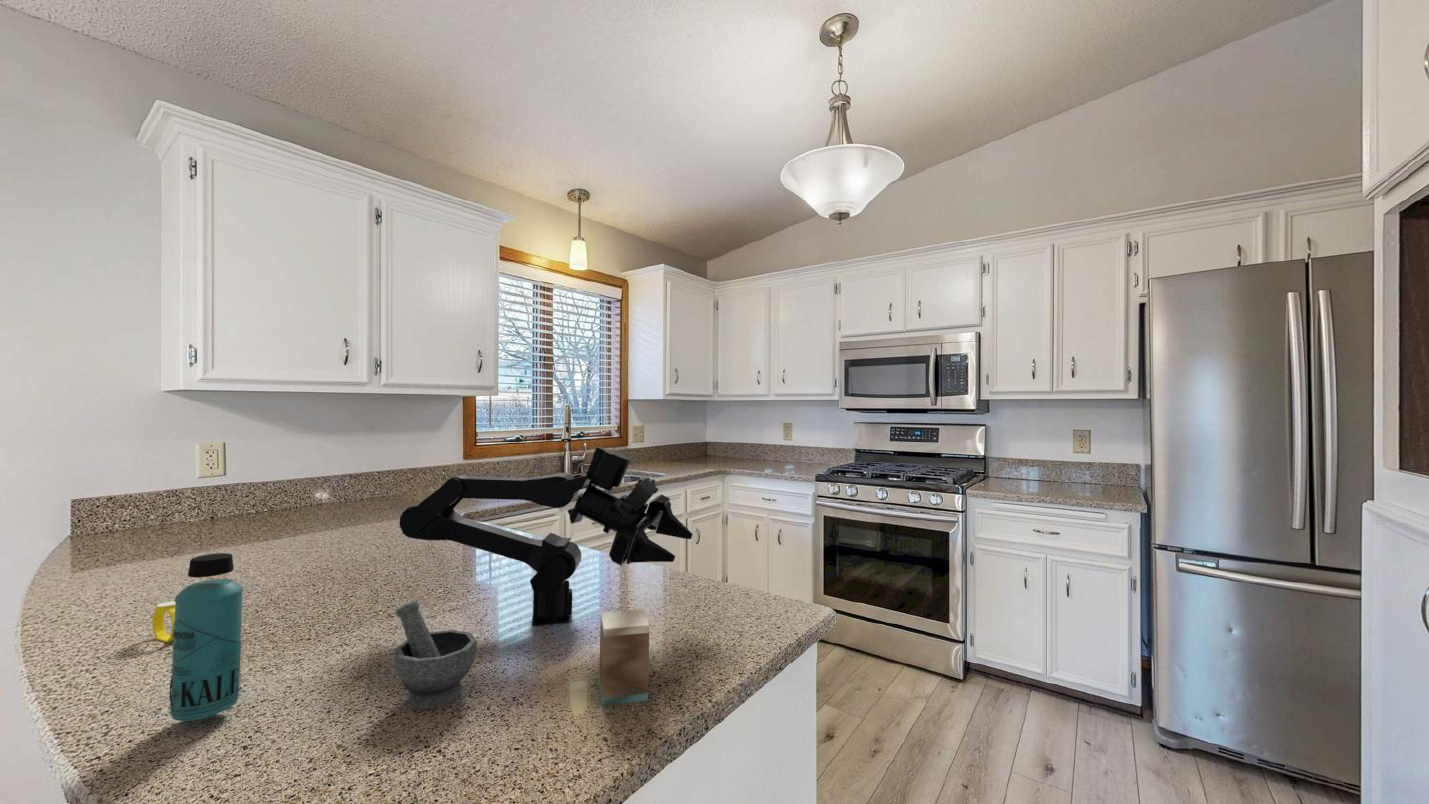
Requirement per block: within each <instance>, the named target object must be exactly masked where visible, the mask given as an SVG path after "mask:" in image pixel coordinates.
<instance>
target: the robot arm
mask: <svg viewBox="0 0 1429 804" xmlns="http://www.w3.org/2000/svg"><path fill="white" fill-rule="evenodd" d="M593 452H594V453H593V456H592V460H591V462H590V464H589V465H588V468H587V471H586V472H584V471H583V472H581V473H579V474H575V475H573V474H572V473H570V472H569V473H568V472H559V473H554V474H546V475H545V474H544V475H541V476H540V475H539V476H534V477H525V478H524V477H504V476H503V477H500V476H499V477H498V476H496V477H495V476H494V477H493V476H469V475H465V474H461V475H456V476H452V477H450V478H448V479H447V480H446V481H445V483H443V484H442V485H441V486H440V487H439V488H438V489H437V490H435V491H434V492H432V493H431V494H430V495H429V496H427V497H426V498H425V499H423V500H422V501H421V502H420V503H418V504H415V505H413V506H410V507H408V508H406V509H404V511H403V512H402V513H401V515H400V518H399V528H400V530H401V532H402V535H404V536H405V537H407V538H409V539H415V540H422V541H452V542H455V543H458V544H462V545H465V546H468V547H471V548H475V549H477V550H478V549H479V550H481V551H484V552H488V553H491V554H495V555H498V556H502V557H505V558H508V559H511V560H515V561H518V562H522V563H525V564H526V565H528V566H529V568H531V569H533V570H534V571H535V572H536V573H535V574H534V575H533V576H532V577H531V579H530V580H529V583H530V586H531V589H532V591H533V601H532V605H533V606H532V617H531V618H532V619H531V625H532V626H537V625H549V624H551V625H552V624H561V623H569V622H570V616H572V615H573V589H572V588H570V580H568V579H569V578H571V576H573V575H574V573H575V571H576V570H577V568H578V567H579V566H580V563H581V561H582V558H583V557H582V551H581V549H580V547H579V546H578V544H577V543H575V542H572V541H571V540H572V538H571V537H561V536H560V535H558V534H556V533H552V532H549V534H547V535H546V536H545V537H544V538H543V539H537V538H536V539H534V538H532V537H529V536H526V535H522V534H519V533H515V532H511V531H508V530H505V529H501V528H499V527H495V526H492V525H489V524H485V523H481V522H479V521H476V520H472V519H468V518H465V517H463V516H462V515H460V514H459V513H458V512H457V511H456V510H455V508H456V507H457V506H458V505H459V504H460V503H461V502H462V500H463V499H474V500H475V499H477V500H478V499H479V500H480V499H481V500H483V499H484V500H513V501H514V500H517V501H519V500H520V501H527V502H531V503H533V504H536V505H540V506H543V507H550V508H555V509H559V508H564V507H566V506H567V505H569V504H570V503H571V502H572V501H573V500H575V499H576V497H577V496H578V497H577V499H576V501H575V505H574V507H572V508H570V509H568V510H567V514H568V515H569V521H570V524H576V523H577V524H578V523H580V522H582V520H583V517H585V518H586V519H588V520H590V521H592V522H595V523H597V524H598V525H600V526H602V527H603V529H602V532H603V533H605V534H609V533H610V532H611V531H613V532H615V536H614V538H613V542H612V544H611V547H610V550H609V552H608V553H609V554H608V556H609V558H610V560H611V562H612V563H614V564H616V565H618V566H620V567H622V566H623V565H624V564H627V565H630V564H631V563H633V564H634V563H635V564H636V563H659V562H660V563H673V562H674V561H675V559H676V555H675V554H673V553H672V552H670V551H669V550H668V549H666V548H664V547H662V546H661V545H659V544H657V543H656V542H654V541H653V540H651V539H650V538H649V537H648V534H647V533H646V532H645V531H646V530H647V529H648V530H650V531H655V534H659V535H664V536H667V537H668V536H669V537H674V538H680V539H686V540H691V539H692V538H693V534H694V533H693V532H691V531H690V530H689V528H687V527H686V526H685V525H684V524H683V523H682V522H681V521H680V520H679V519H678V518H677V517H676V516H675V515H674V513H673V510H672V508H671V507H672V503H671V502H670V501H671V498H670V497H668V496H665V495H663V494H659V495H657V496H655V497H654V498H653V499H652V500H651V501H649V500H650V499H651V498H652V496H653V495H654V494H657V492H658V491H659V488H658V487H657V484H656V481H655V479H654V478H652V479H651V478H650V477H649V476H647V477H645V476H641V477H640V478H638V481H636V482H635V484H634V486H635V487H634V488H633V489H632V490H631V491H630V492H629V494H628V495H626V494H624V495H621V496H620V497H617V496H616V495H613V494H611V493H609V492H611V491H613V488H620V486H621V483H622V481H624V477H625V475H626V473H627V471H628V469H629V465H630V464H631V461H632V459H631V458H629V457H628V456H627V455H624V454H622V453H621V452H618V451H612V450H609V449H606V448H602V447H601V446H598V447H596V448H595V450H594V451H593ZM584 487H586V489H585V491H584V492H583V493H580V494H579V491H580V490H582V489H583V488H584ZM602 489H603V490H602ZM605 490H606V491H605ZM607 491H609V492H607ZM578 494H579V495H578ZM648 501H649V502H648ZM647 502H648V503H649V504H648V503H647Z"/></svg>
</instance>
